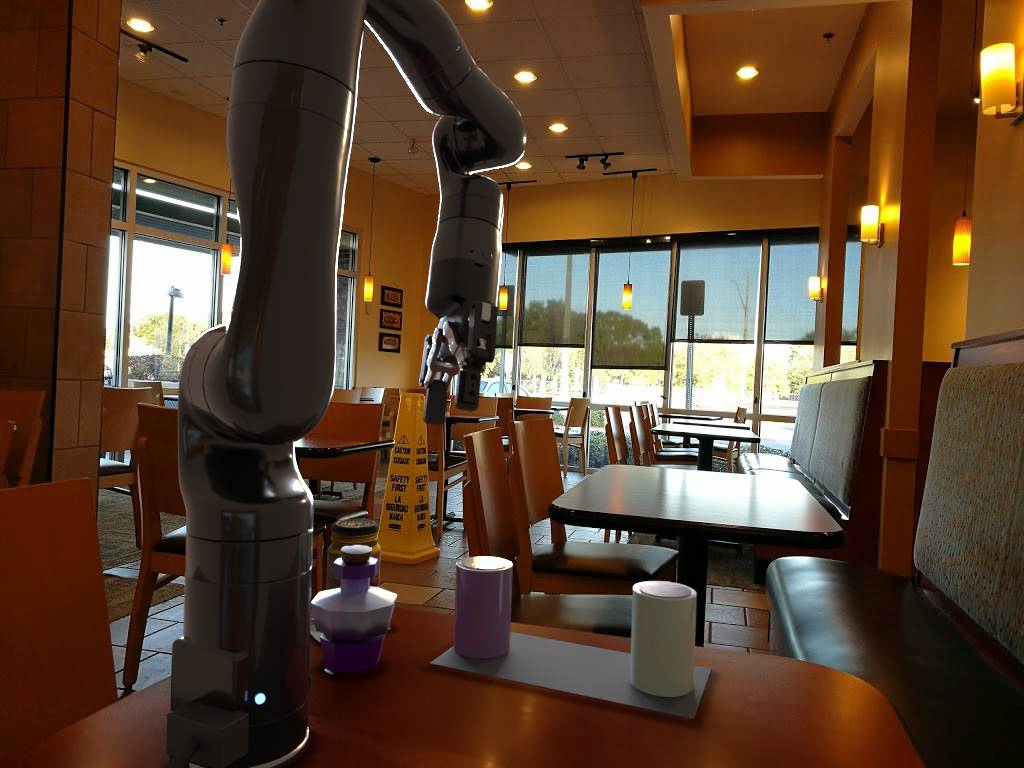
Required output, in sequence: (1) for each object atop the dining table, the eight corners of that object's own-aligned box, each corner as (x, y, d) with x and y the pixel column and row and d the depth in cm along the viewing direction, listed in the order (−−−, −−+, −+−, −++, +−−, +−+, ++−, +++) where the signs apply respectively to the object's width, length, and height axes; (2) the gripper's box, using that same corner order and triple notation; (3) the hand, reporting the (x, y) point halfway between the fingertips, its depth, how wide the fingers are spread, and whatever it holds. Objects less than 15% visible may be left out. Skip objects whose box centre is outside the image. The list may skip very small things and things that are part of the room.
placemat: (693, 725, 63) (693, 718, 63) (429, 669, 73) (429, 663, 73) (711, 674, 74) (712, 668, 74) (480, 631, 84) (480, 625, 84)
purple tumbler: (496, 663, 73) (498, 573, 73) (443, 652, 76) (446, 565, 76) (518, 643, 79) (521, 559, 79) (468, 633, 81) (471, 552, 81)
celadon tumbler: (687, 702, 66) (691, 602, 66) (622, 689, 68) (626, 592, 68) (697, 677, 71) (701, 585, 71) (637, 666, 74) (640, 576, 74)
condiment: (391, 630, 83) (394, 525, 83) (318, 643, 79) (321, 532, 78) (366, 611, 89) (369, 514, 89) (298, 622, 85) (301, 520, 84)
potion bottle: (341, 645, 78) (345, 534, 78) (412, 659, 75) (415, 543, 75) (289, 675, 70) (292, 551, 70) (365, 692, 67) (369, 562, 67)
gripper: (409, 283, 83) (391, 422, 78) (459, 235, 70) (440, 396, 66) (469, 300, 86) (455, 434, 81) (527, 256, 73) (514, 411, 69)
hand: (448, 417), depth 74 cm, fingers open, 8 cm apart
